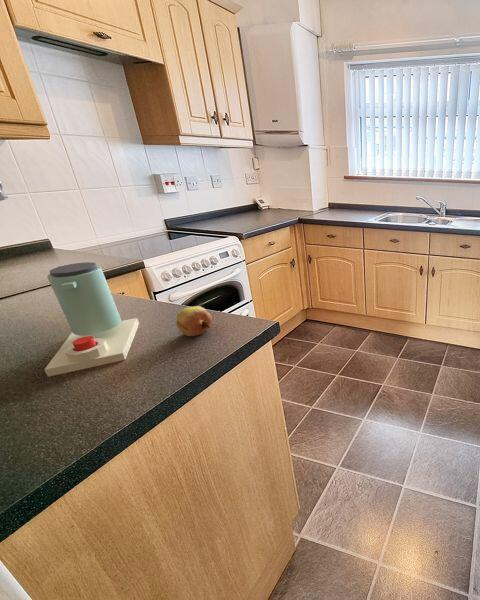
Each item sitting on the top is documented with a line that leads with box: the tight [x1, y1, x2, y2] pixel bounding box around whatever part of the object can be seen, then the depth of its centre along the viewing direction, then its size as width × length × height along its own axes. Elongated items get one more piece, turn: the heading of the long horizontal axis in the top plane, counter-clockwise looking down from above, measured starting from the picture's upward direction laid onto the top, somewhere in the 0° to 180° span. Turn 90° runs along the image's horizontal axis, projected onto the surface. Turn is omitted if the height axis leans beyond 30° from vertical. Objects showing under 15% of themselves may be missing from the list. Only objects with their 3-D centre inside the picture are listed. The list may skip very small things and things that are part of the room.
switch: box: [72, 336, 97, 351], centre depth 67 cm, size 3×3×2 cm
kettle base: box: [44, 317, 140, 378], centre depth 73 cm, size 18×12×4 cm, turn 28°
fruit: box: [175, 305, 213, 337], centre depth 78 cm, size 7×7×10 cm
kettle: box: [46, 261, 122, 336], centre depth 72 cm, size 12×8×14 cm
